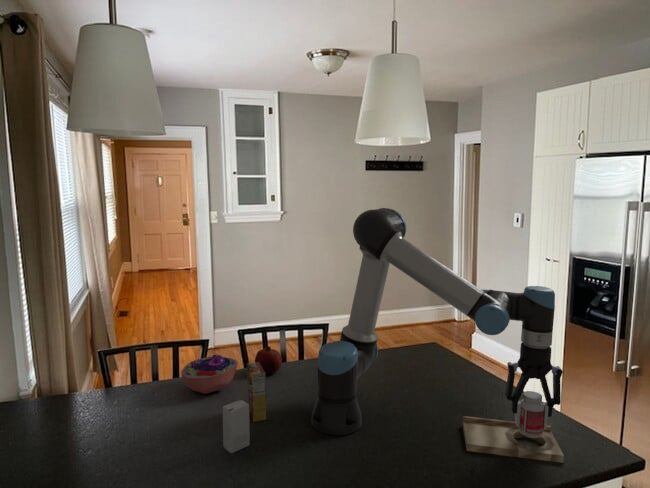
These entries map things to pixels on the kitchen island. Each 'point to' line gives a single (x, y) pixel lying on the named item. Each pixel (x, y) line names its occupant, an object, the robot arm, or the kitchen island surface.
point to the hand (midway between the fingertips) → (530, 425)
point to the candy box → (256, 391)
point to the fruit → (269, 360)
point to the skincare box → (236, 426)
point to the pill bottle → (531, 415)
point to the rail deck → (507, 440)
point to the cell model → (209, 373)
